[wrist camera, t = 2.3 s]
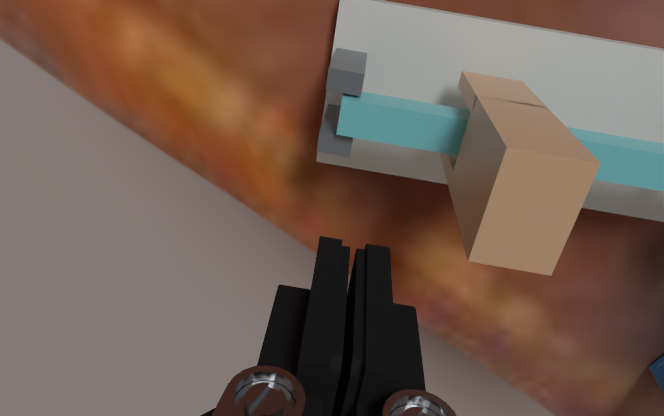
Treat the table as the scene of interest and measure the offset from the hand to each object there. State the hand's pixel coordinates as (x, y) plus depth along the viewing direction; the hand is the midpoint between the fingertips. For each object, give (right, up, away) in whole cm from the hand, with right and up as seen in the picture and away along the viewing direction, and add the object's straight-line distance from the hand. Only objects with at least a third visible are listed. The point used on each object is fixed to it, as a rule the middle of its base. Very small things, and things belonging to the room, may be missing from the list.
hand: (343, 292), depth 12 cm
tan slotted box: (+7, +7, +14) cm, 17 cm away
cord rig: (+11, +7, +16) cm, 21 cm away
